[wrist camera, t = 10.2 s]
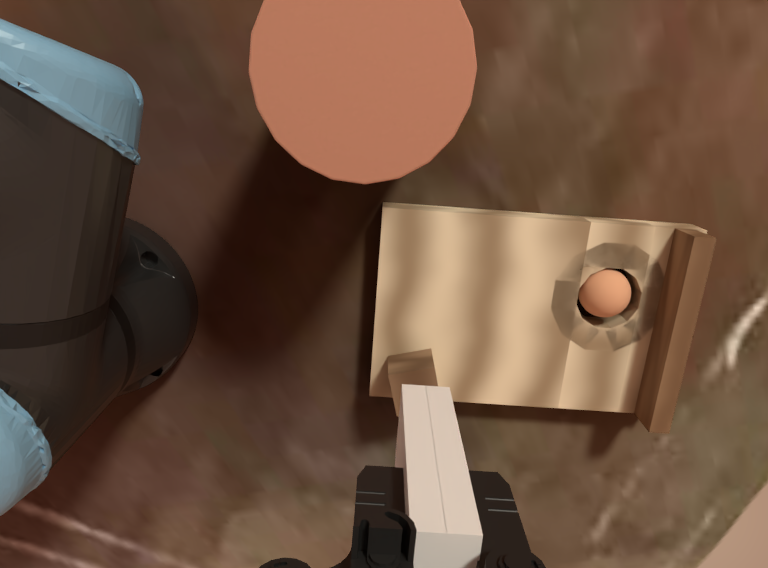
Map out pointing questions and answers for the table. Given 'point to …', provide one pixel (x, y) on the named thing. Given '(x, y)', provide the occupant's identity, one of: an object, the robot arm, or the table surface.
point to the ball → (605, 293)
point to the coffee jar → (362, 82)
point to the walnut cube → (410, 372)
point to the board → (539, 307)
